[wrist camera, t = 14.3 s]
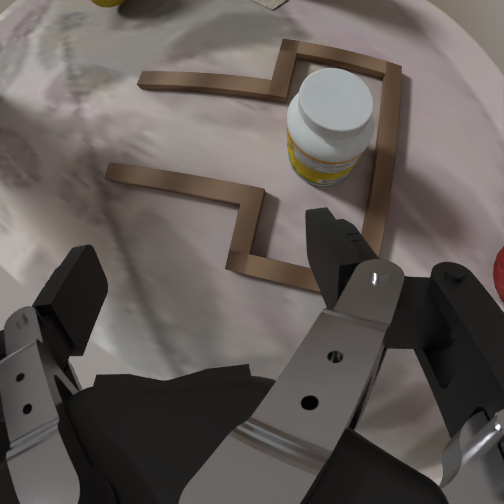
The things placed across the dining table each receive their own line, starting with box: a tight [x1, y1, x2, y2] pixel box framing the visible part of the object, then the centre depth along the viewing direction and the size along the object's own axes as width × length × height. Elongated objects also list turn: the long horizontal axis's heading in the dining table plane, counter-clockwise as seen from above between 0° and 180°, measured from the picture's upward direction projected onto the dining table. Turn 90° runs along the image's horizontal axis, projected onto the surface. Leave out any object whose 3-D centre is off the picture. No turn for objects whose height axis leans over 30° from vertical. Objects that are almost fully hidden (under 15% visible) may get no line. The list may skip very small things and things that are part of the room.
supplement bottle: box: [287, 68, 374, 186], centre depth 19 cm, size 5×5×10 cm
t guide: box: [105, 39, 402, 292], centre depth 24 cm, size 24×21×1 cm
